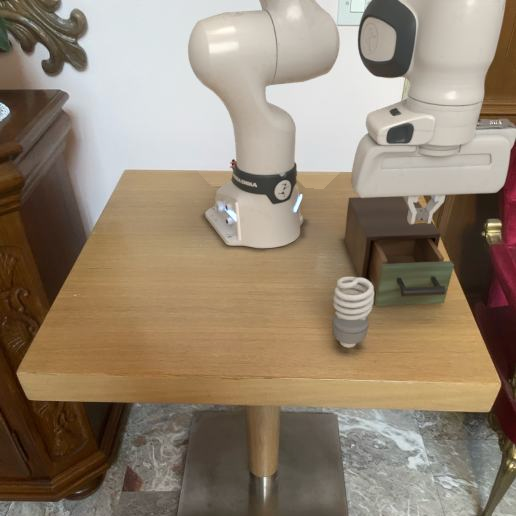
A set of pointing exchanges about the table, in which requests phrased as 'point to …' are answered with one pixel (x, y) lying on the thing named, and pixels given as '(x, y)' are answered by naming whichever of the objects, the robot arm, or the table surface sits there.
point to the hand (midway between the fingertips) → (418, 222)
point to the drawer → (408, 272)
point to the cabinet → (380, 227)
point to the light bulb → (352, 310)
